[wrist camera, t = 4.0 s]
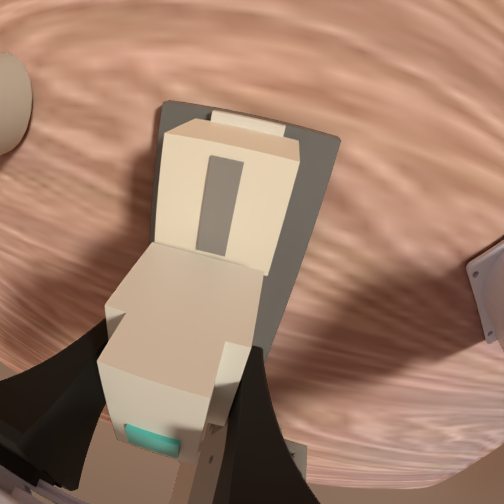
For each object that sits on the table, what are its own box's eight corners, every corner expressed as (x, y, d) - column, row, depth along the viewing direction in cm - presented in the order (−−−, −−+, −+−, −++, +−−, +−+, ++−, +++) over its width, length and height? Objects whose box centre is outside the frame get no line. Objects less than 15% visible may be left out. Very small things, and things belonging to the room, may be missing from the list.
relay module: (152, 242, 12) (69, 356, 7) (264, 271, 12) (239, 412, 7) (148, 330, 15) (97, 436, 9) (238, 355, 15) (213, 473, 9)
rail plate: (170, 100, 15) (118, 114, 11) (338, 136, 15) (358, 165, 11) (152, 337, 25) (127, 390, 20) (261, 365, 25) (252, 424, 20)
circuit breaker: (319, 404, 27) (313, 558, 14) (243, 449, 34) (224, 558, 21) (250, 375, 26) (218, 548, 13) (187, 428, 33) (155, 542, 20)
